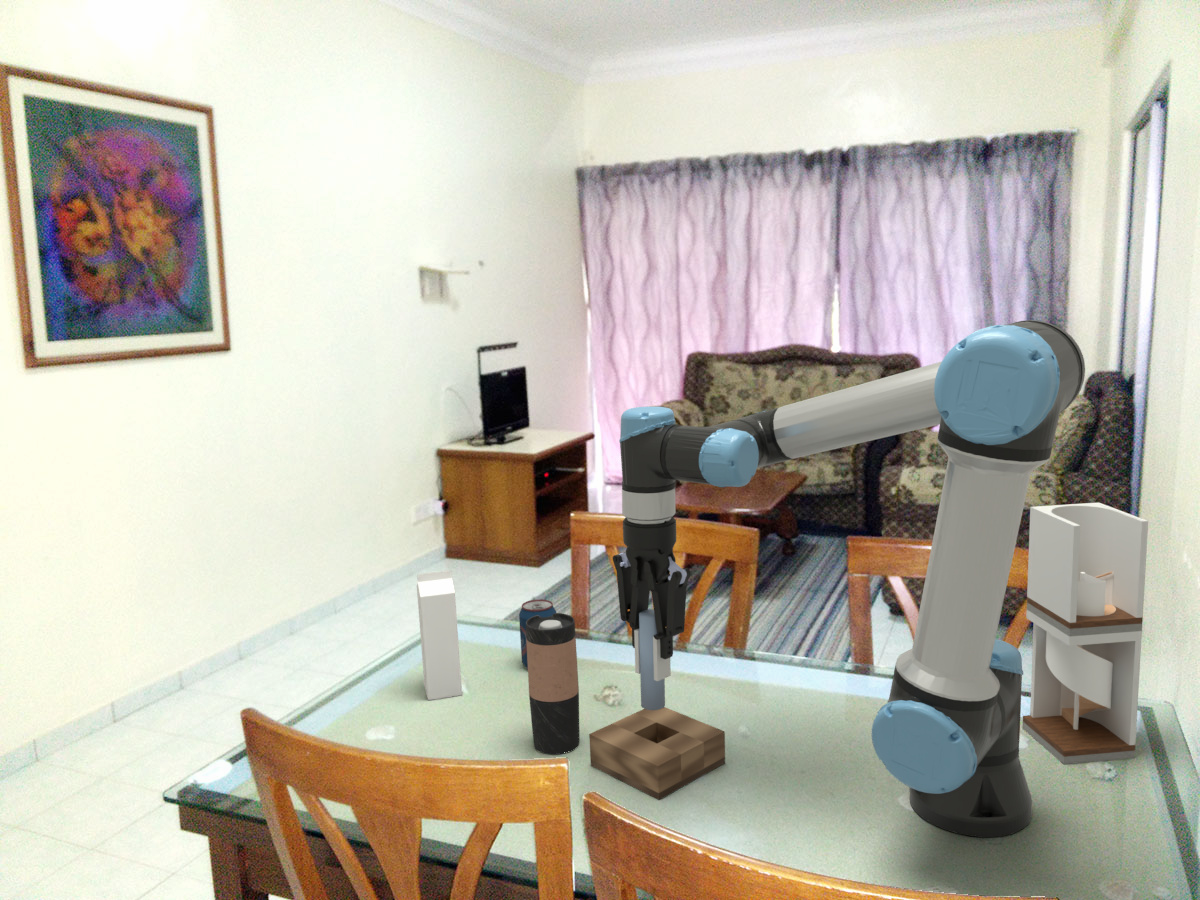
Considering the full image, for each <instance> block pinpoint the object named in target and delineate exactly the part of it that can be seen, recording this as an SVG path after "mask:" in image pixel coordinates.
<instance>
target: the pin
mask: <svg viewBox="0 0 1200 900" xmlns="http://www.w3.org/2000/svg"><path fill="white" fill-rule="evenodd" d="M639 633H640V674H639V676H640V677H639V678H640V706H641V708H643V709H647V710H659V709H662V708H664V707H666V689H665V688H666V684H665V683H666V678H664V679H662V680H660V681H656V680H654V663H653V637H654V635H656V634H657V629H656V621H655V614H654V608H653V609H649V608H648V610H643V611H641V612H640V613H639Z"/></svg>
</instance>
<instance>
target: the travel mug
mask: <svg viewBox="0 0 1200 900" xmlns="http://www.w3.org/2000/svg"><path fill="white" fill-rule="evenodd" d="M575 623H576V622H575V618H574V617H573V616H571V615H570V614H566V613H561V612H556V613H554V614H553V615H552V616H549V617H540V616H539V615H536V616H533V617H531V618H529V619H528V620H527V621H526V641H527V662H528V669H527V677H528V682H527V683H528V697H529V707H530V708H529V710H530V718H531V730H532V740H533V747H534V749H535V750H536V751H537V752H539V753H541V754H545V755H563V754H567V753H569V752H568V751H570V752H572V751H574V750H575V748H576V747H577V746H579V745H580V688H579V674H578V673H579V672H578V671H579V670H578V669H579V668H578V655H577V654H578V653H577V640H576V639H577V638H576V624H575ZM577 748H578V747H577ZM577 748H576V749H577ZM573 749H574V750H573ZM571 750H572V751H571ZM564 752H565V753H564ZM566 752H567V753H566Z"/></svg>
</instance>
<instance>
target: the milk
mask: <svg viewBox="0 0 1200 900" xmlns="http://www.w3.org/2000/svg"><path fill="white" fill-rule="evenodd" d="M416 578H417V580H416V581H417V585H416V592H417V593H416V594H417V596H416V597H417V605H418V608H417V609H418V619H419V620H418V621H419V632H420V644H421V646H420V647H421V657H422V659H421V661H422V669H423V671H422V673H423V683H424V689H425V693H426V694H425V695H426V697H427V700H428V701H434V700H439V699H446V698H453V697H452V696H454V697H459V696H458V695H460V696H463V688H462V675H461V673H462V672H461V659H460V658H461V657H460V646H459V645H460V643H459V631H458V617H457V602H456V591H455V585H454V581H453V572H452V570H450V569H448V570H438V571H430V572H429V571H428V572H422V573H418V574H417V576H416Z"/></svg>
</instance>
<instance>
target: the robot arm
mask: <svg viewBox="0 0 1200 900" xmlns="http://www.w3.org/2000/svg"><path fill="white" fill-rule="evenodd" d="M1085 376H1086V365H1085V358H1084V355H1083V352H1082V350H1081V347H1080V346H1079V343H1077V341H1076V340H1075V339H1074V338H1073V336H1072V335H1070V334H1069V333H1068V332H1067V331H1066V330H1065V329H1063V328H1062V327H1060V326H1057V325H1055V324H1053V323H1050V322H1047V321H1043V320H1034V319H1033V320H1030V319H1029V320H1027V319H1026V320H1020V321H1015V322H1012V323H1007V324H997V325H991V326H987V327H984V328H980V329H978V330H976V331H973V332H972V333H970V334H969V335H967V336H966V337H963V339H961V340H960V341H958V342H957V343H956V344H955V345H954V346H952V347H951V349H949V351H947V353H946V355H944V356H943V359H942V360H941V361H939V362H935V363H931V364H928V365H924V366H921V367H916V368H914V369H910V370H907V371H902V372H900V373H896V374H893V375H889V376H885V377H882V378H878V379H874V380H871V381H868V382H865V383H861V384H857V385H853V386H850V387H846V388H843V389H839V390H835V391H832V392H827V393H825V394H822V395H818V396H815V397H814V396H813V397H811V398H807V399H804V400H799V401H797V402H794V403H790V404H786V405H782V406H780V407H776V408H771V409H768V410H763V411H759V412H756V413H752V414H750V415H746V416H743V417H740V418H737V419H733V420H729V421H725V422H722V423H719V424H715V425H711V426H690V425H682V424H677V423H676V419H675V414H674V411H673V410H672V409H671V408H669V407H665V406H653V405H652V406H639V407H637V406H636V407H632V408H629V409H626V410H625V411H623V413H622V414H621V416H620V435H619V436H620V438H619V441H618V442H619V447H620V448H619V449H620V458H621V459H620V460H621V461H620V462H621V475H622V477H621V478H622V479H621V480H622V481H621V506H622V507H621V510H622V511H621V512H622V513H621V514H622V516H624V517H625V518H624V519H623V520H622V539H623V540H622V541H623V544H624V545H625V546H626V549H625V552H621V553H618V554H614V555H613V556H612V563H613V564H614V567H615V572H616V580H617V592H618V593H617V594H618V604H619V614H620V616H619V617H620V619H621V621H623V622H627V623H628V625H629V627H630V628H631V645H632V648H633V649H634V670H635V673H636V674H638V675H640V633H639V613H640V612H641V611H643V610H649V604H650V603H649V602H650V592H651V599H652V605H653V609H654V614H655V621H656V629H657V634H656V635H654V637H653V663H654V680H656V681H660V680H662V679H664V678H665V679H667V678H669V677H671V675H672V674H671V673H672V672H671V671H672V669H671V658H672V657H673V655H674V637H675V636H677V635H679V634H683V633H684V632H685V625H686V624H685V623H686V622H685V621H686V607H687V606H686V604H687V602H686V601H687V600H686V599H687V585H688V583H689V579H690V576H691V570H690V568H688V567H685V568H682V567H681V566H680V565H678V564H677V563H676V561H677V560H676V557H675V555H674V547H675V544H676V543H677V519H676V518H675V517H674V516H675V515H676V513H677V512H676V481H682V482H689V483H697V484H703V485H708V486H709V485H710V486H713V487H718V488H726V487H729V488H730V487H734V488H741V487H745V486H746V485H748V484H749V483H750V482H751V480H752V478H753V477H754V476H755V475H756V472H757V470H758V469H761V468H763V467H767V466H771V465H774V464H779V463H783V462H786V461H791V460H794V459H798V458H802V457H806V456H807V457H808V456H810V455H811V456H812V455H815V454H820V453H823V452H828V451H833V450H836V449H841V448H845V447H848V446H854V445H858V444H862V443H866V442H870V441H875V440H879V439H883V438H888V437H892V436H896V435H900V434H904V433H909V432H914V431H919V430H922V429H926V428H930V427H935V426H939V428H938V433H937V438H936V440H937V441H936V442H937V444H938V445H939V446H940V448H942V450H943V452H944V453H945V454H946V455H947V462H946V469H945V474H944V479H943V484H942V489H941V496H940V500H939V506H938V511H937V515H936V522H935V527H934V533H933V538H932V543H931V547H930V548H931V549H930V553H929V559H928V564H927V568H926V573H925V574H926V575H925V579H924V585H923V590H922V595H921V600H920V606H919V610H918V617H917V623H916V627H915V632H914V633H915V634H914V637H913V643H912V648H910V649H909V650H906V651H904V652H902V653H901V654H899V656H898V657H897V659H896V660H895V661H896V662H895V665H894V671H893V676H892V681H891V686H890V692H889V696H888V700H887V703H885V704H884V705H882V706H881V707H880V709H879V710H878V711H877V714H876V716H875V717H874V719H873V722H872V726H871V733H870V734H871V743H872V746H873V750H874V752H875V754H876V756H877V758H878V760H879V761H881V762H882V763H883V765H884V766H885V769H886V770H887V771H888V773H889V774H890V775H891V776H893V778H895V779H896V780H897V781H899V783H902V784H903V785H905V786H907V787H909V802H910V805H911V808H912V809H913V810H914V812H915V813H916V814H917V815H918V816H920V817H921V818H922V819H923V820H925V821H926V822H928V823H930V824H932V825H934V826H936V827H938V828H940V829H943V830H946V831H949V832H951V833H955V834H959V835H963V836H970V837H978V838H980V837H981V838H993V837H994V838H995V837H996V838H997V837H1004V836H1008V835H1012V834H1016V833H1017V832H1020V831H1022V830H1023V829H1025V828H1026V827H1027V826H1028V825H1029V824H1030V822H1031V820H1032V815H1033V814H1032V812H1033V810H1032V804H1033V799H1032V795H1031V791H1030V788H1029V785H1028V782H1027V779H1026V775H1025V772H1024V770H1023V766H1022V764H1021V763H1022V762H1021V761H1020V737H1021V735H1020V734H1021V731H1020V730H1021V713H1022V712H1021V707H1022V683H1023V681H1022V680H1023V675H1024V670H1023V657H1022V654H1021V652H1020V650H1019V649H1018V648H1017V647H1015V646H1014V645H1013V644H1011V643H1009V642H1006V641H1004V640H1002V639H998V638H996V637H997V633H998V628H999V623H1000V618H1001V615H1002V610H1003V605H1004V601H1005V597H1006V596H1005V595H1006V590H1007V585H1008V581H1009V578H1010V573H1011V567H1012V563H1013V557H1014V553H1015V549H1016V545H1017V544H1016V543H1017V540H1018V535H1019V530H1020V527H1021V521H1022V516H1023V513H1024V507H1025V502H1026V497H1027V494H1028V489H1029V488H1028V487H1029V484H1030V478H1031V475H1032V473H1033V471H1034V470H1036V469H1038V468H1039V467H1041V466H1043V465H1045V464H1046V463H1048V462H1049V461H1050V459H1051V455H1052V450H1053V446H1054V440H1055V437H1056V433H1057V428H1058V423H1059V420H1060V419H1059V418H1060V414H1061V413H1062V412H1064V411H1065V410H1067V409H1068V408H1069V407H1070V406H1071V404H1072V403H1073V402H1074V401H1075V400H1076V399H1077V398H1078V395H1079V394H1080V392H1081V391H1082V388H1083V385H1084V381H1085Z"/></svg>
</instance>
